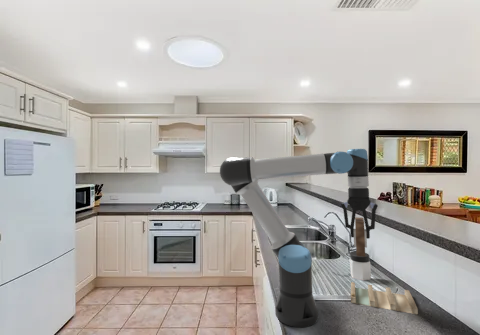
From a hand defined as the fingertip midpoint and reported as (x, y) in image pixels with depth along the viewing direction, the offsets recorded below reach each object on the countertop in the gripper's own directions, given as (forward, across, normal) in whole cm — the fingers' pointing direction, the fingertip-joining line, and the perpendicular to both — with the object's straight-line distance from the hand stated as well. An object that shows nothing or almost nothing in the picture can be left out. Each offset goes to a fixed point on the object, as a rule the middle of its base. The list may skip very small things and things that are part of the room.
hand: (360, 245), depth 99 cm
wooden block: (+3, 0, 0) cm, 3 cm away
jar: (+22, 0, +20) cm, 29 cm away
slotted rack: (+21, +6, 0) cm, 22 cm away
